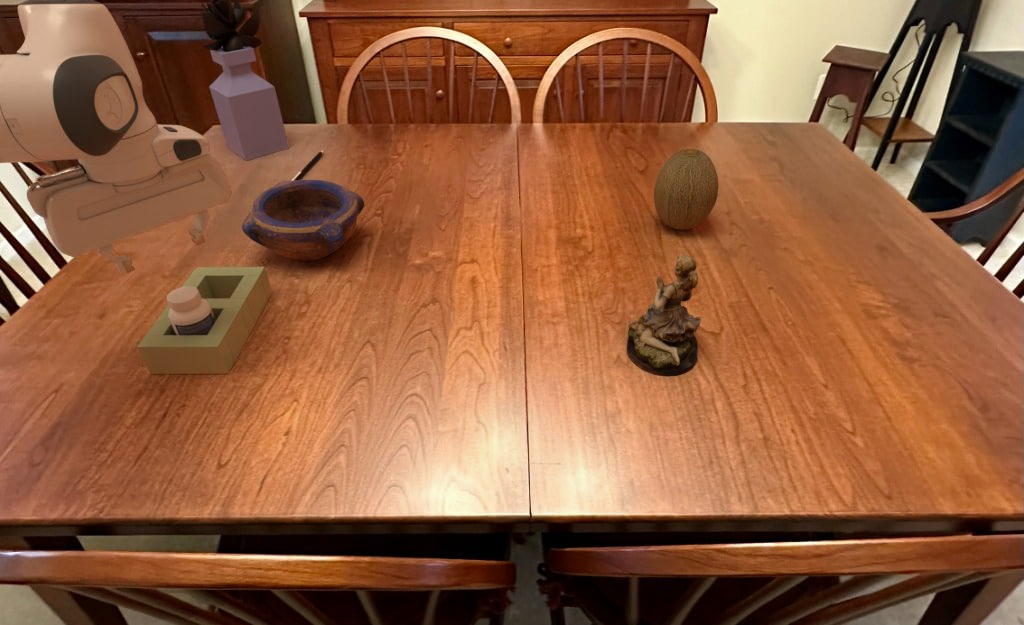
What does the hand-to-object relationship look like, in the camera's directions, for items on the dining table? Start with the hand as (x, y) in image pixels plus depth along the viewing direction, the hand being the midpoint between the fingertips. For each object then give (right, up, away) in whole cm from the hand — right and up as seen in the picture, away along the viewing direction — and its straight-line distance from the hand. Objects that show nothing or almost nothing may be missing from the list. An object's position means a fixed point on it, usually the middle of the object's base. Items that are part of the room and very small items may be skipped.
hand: (165, 256), depth 78 cm
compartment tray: (0, -10, +13) cm, 16 cm away
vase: (-16, +32, +68) cm, 77 cm away
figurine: (+66, -12, +10) cm, 68 cm away
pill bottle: (0, -13, +10) cm, 16 cm away
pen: (-1, +25, +58) cm, 63 cm away
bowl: (+9, +4, +31) cm, 33 cm away
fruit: (+76, +9, +38) cm, 86 cm away
